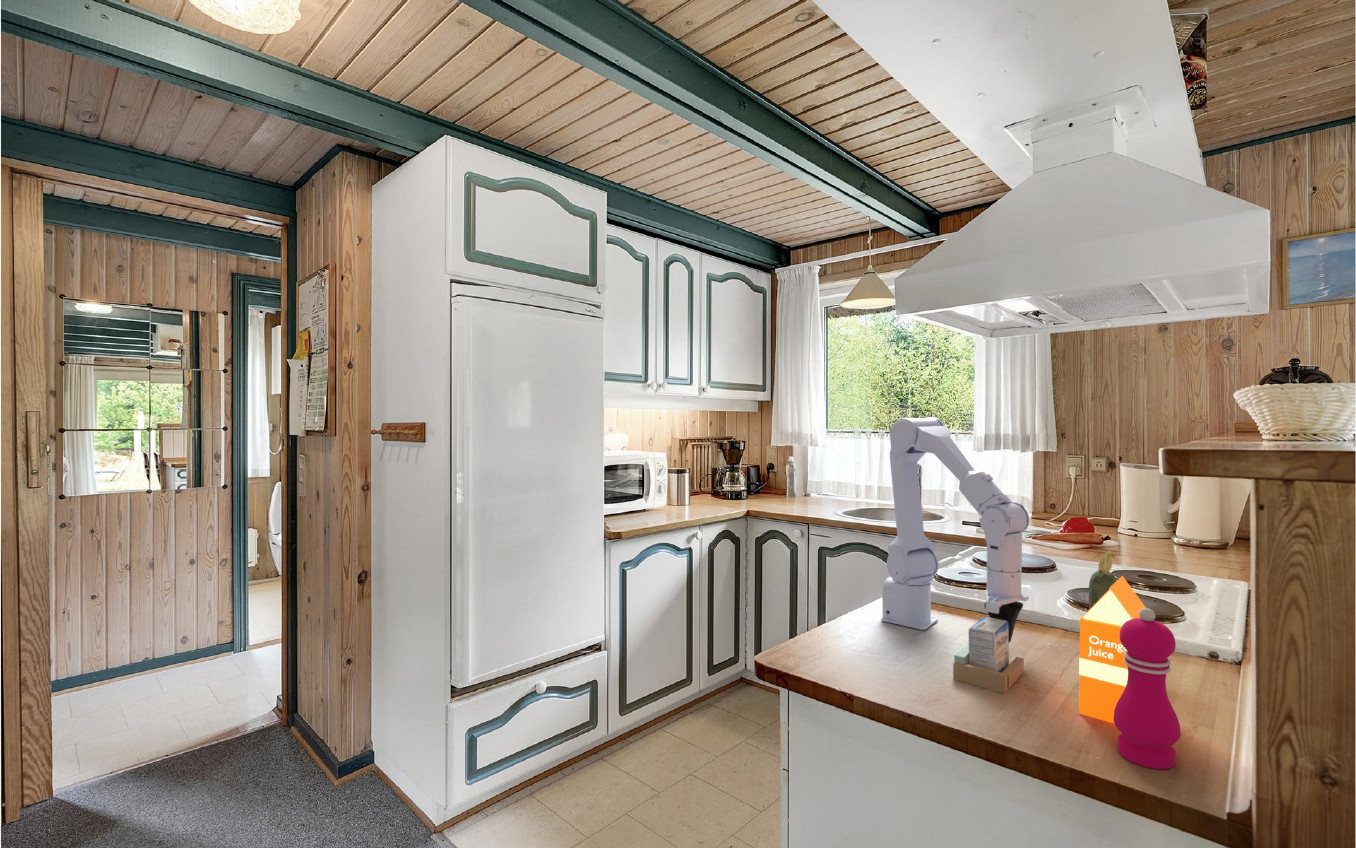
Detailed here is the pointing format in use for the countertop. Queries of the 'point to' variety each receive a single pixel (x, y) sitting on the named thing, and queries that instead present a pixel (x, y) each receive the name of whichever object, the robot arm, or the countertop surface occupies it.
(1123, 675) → the orange juice
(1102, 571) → the vegetable
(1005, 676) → the board
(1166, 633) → the pepper mill
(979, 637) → the medicine box
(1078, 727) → the countertop surface
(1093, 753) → the countertop surface
